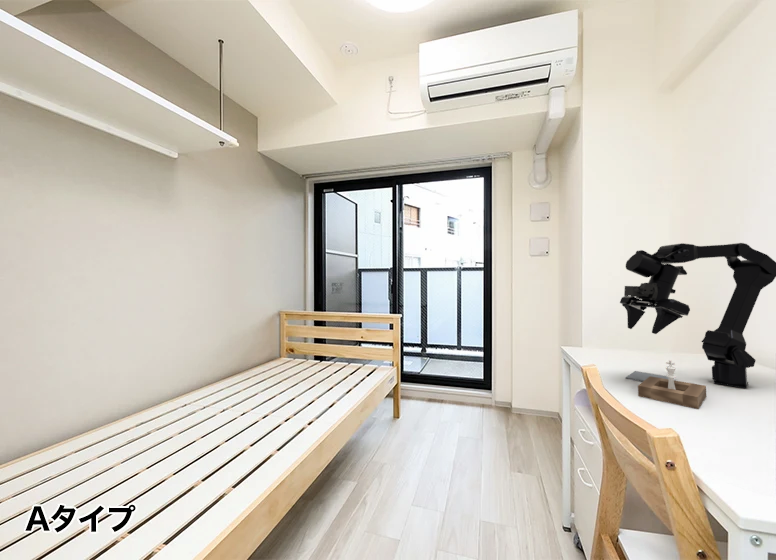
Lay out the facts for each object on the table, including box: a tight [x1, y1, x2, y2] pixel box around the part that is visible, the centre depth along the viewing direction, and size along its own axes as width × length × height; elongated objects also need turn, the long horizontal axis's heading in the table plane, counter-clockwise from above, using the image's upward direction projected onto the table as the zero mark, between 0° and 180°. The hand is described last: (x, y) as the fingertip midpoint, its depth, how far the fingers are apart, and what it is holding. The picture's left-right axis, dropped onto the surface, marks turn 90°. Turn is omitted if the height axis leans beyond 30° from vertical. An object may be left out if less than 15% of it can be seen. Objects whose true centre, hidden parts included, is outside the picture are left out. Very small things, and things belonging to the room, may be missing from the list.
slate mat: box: [625, 370, 675, 383], centre depth 100 cm, size 10×10×1 cm
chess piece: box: [665, 360, 677, 390], centre depth 85 cm, size 5×5×10 cm
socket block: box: [637, 376, 707, 410], centre depth 85 cm, size 12×12×3 cm
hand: (641, 330), depth 93 cm, fingers open, 9 cm apart
